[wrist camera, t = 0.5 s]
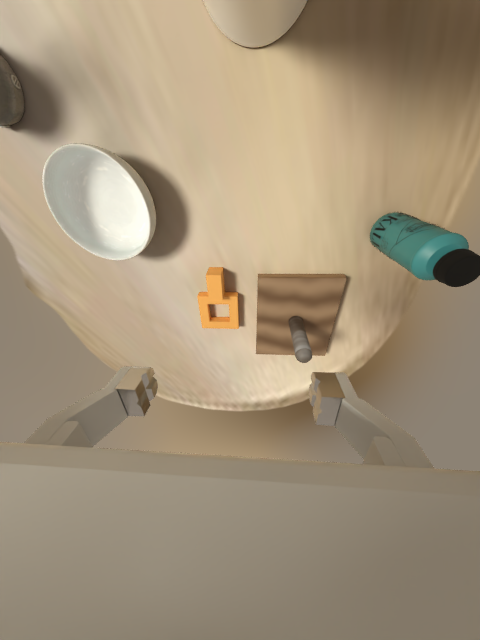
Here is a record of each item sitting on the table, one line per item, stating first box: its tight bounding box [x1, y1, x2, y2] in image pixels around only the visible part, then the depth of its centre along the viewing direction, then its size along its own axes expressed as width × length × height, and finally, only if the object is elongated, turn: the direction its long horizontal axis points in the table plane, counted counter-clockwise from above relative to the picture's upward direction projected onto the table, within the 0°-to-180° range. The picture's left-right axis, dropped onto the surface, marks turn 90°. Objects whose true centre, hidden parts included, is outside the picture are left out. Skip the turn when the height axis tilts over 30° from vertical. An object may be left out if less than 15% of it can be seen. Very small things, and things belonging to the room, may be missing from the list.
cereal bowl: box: [43, 143, 156, 260], centre depth 38 cm, size 17×17×7 cm
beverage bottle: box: [370, 212, 480, 287], centre depth 33 cm, size 6×7×20 cm
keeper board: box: [256, 274, 347, 363], centre depth 47 cm, size 22×18×15 cm
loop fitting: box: [197, 267, 239, 329], centre depth 50 cm, size 15×9×4 cm, turn 1°
